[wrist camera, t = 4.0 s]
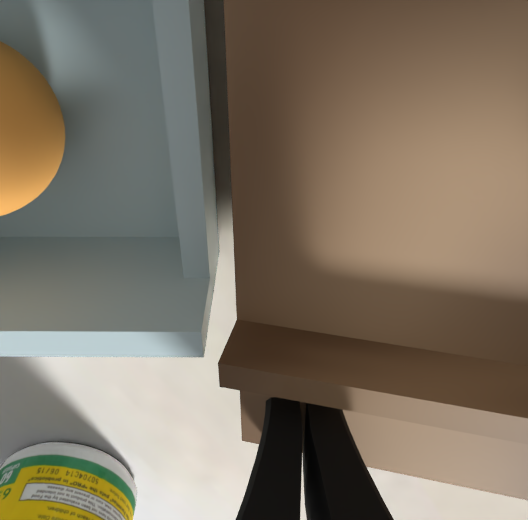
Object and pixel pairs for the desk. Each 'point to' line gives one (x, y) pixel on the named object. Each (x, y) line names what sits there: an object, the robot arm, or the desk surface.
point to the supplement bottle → (65, 484)
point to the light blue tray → (115, 185)
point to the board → (384, 227)
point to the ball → (26, 131)
